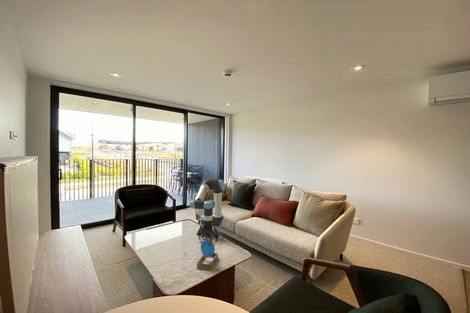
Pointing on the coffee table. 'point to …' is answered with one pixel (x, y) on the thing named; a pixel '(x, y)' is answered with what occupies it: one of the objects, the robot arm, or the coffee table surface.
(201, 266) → the open rectangular wooden box
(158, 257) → the coffee table surface
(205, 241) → the alarm clock
